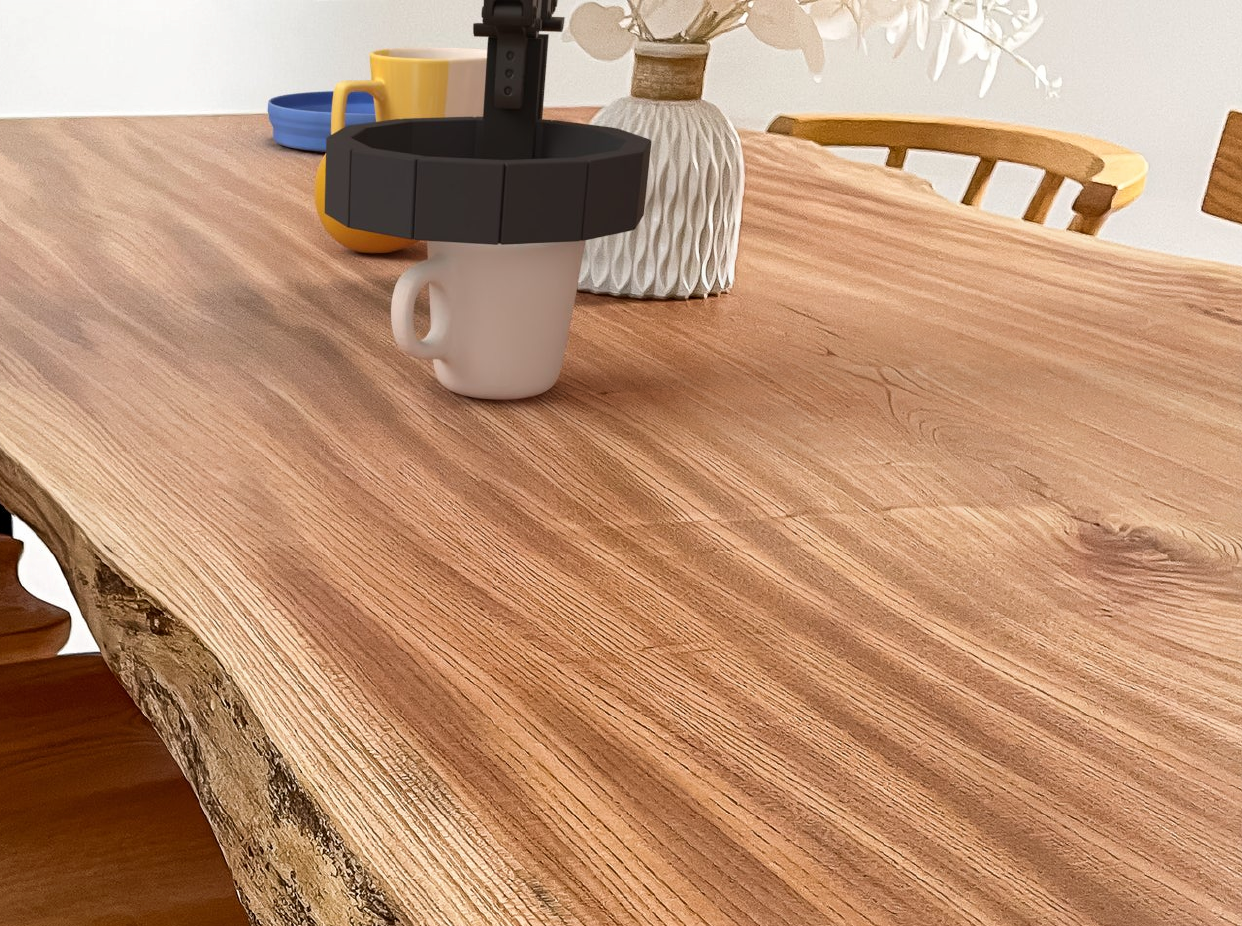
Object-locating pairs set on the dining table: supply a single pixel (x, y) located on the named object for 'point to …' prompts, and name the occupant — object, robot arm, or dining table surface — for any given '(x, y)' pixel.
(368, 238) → the fruit
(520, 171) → the ring
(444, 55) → the mug
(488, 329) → the cup
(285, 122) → the bowl
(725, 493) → the dining table surface
